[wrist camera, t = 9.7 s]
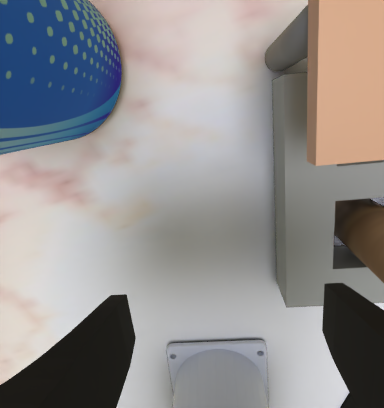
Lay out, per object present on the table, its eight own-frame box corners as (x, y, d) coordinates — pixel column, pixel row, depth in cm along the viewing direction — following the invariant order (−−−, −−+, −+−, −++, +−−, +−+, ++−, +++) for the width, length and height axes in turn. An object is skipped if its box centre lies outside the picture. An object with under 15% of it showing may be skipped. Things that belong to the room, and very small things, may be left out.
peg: (374, 234, 20) (453, 294, 14) (327, 240, 21) (381, 300, 14) (375, 190, 20) (460, 230, 13) (325, 197, 20) (382, 239, 13)
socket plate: (418, 273, 21) (451, 299, 18) (276, 281, 22) (286, 307, 19) (448, 60, 17) (496, 49, 14) (272, 80, 18) (283, 74, 15)
